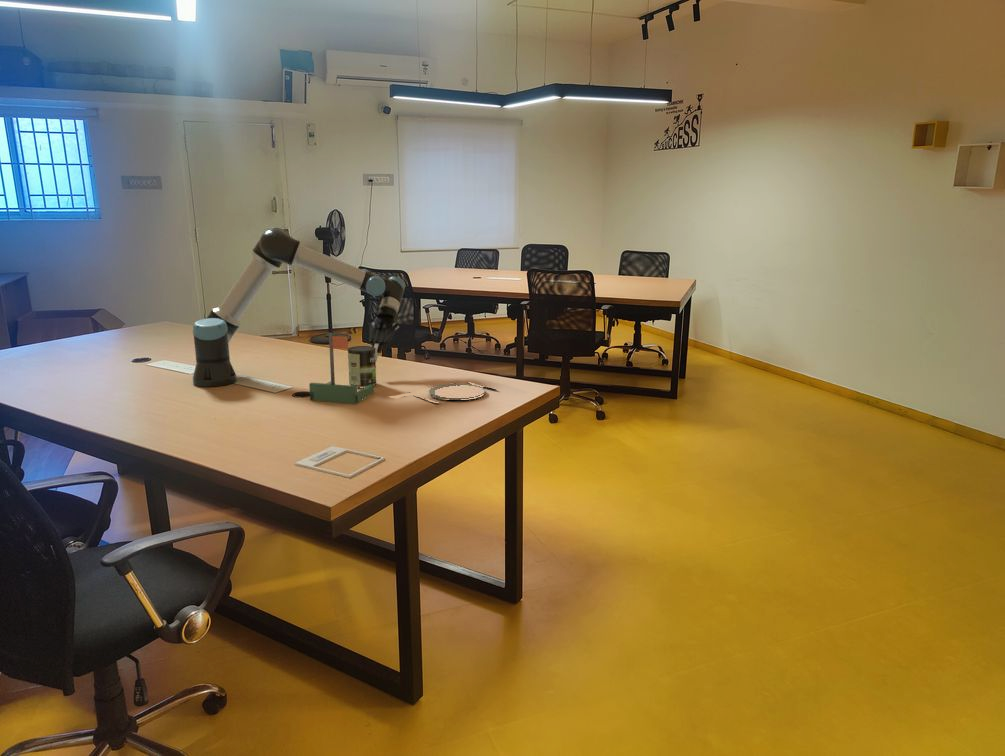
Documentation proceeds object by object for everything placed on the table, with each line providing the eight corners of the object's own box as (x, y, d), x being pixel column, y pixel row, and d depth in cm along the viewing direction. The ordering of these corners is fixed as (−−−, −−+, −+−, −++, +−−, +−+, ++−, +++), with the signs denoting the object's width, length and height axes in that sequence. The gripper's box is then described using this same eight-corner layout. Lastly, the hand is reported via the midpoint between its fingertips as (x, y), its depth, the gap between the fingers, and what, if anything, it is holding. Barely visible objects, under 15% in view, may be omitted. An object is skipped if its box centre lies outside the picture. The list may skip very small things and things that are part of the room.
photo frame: (332, 445, 185) (385, 456, 177) (333, 449, 185) (385, 460, 177) (294, 462, 172) (349, 475, 164) (295, 466, 172) (349, 479, 165)
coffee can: (379, 381, 256) (378, 346, 253) (373, 388, 246) (372, 351, 243) (352, 381, 256) (351, 345, 253) (345, 388, 246) (344, 350, 243)
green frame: (331, 389, 244) (328, 324, 238) (374, 392, 241) (372, 327, 235) (310, 400, 230) (306, 332, 224) (355, 404, 226) (353, 335, 220)
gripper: (405, 316, 272) (392, 365, 260) (376, 315, 275) (361, 363, 263) (400, 305, 265) (386, 355, 254) (370, 304, 268) (354, 353, 257)
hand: (373, 359), depth 258 cm, fingers closed
